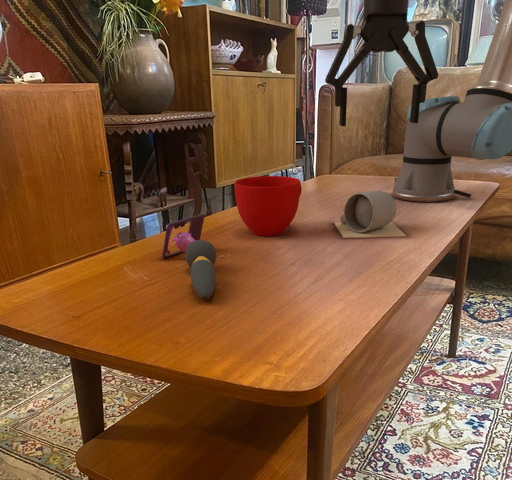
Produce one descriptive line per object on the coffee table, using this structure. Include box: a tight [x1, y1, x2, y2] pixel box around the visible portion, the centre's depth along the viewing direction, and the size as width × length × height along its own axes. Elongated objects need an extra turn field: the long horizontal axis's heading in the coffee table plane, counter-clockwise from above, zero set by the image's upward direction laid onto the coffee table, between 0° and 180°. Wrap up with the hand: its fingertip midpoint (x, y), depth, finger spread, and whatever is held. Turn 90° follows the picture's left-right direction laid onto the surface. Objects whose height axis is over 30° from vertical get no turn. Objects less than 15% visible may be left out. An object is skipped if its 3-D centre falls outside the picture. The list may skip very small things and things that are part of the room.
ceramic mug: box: [340, 190, 397, 233], centre depth 104 cm, size 11×8×8 cm
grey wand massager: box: [184, 239, 217, 300], centre depth 79 cm, size 20×5×5 cm, turn 12°
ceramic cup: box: [233, 175, 303, 237], centre depth 105 cm, size 13×17×10 cm
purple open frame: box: [161, 213, 206, 260], centre depth 91 cm, size 7×5×9 cm
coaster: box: [333, 221, 407, 239], centre depth 105 cm, size 12×12×1 cm
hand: (378, 124), depth 98 cm, fingers open, 13 cm apart
